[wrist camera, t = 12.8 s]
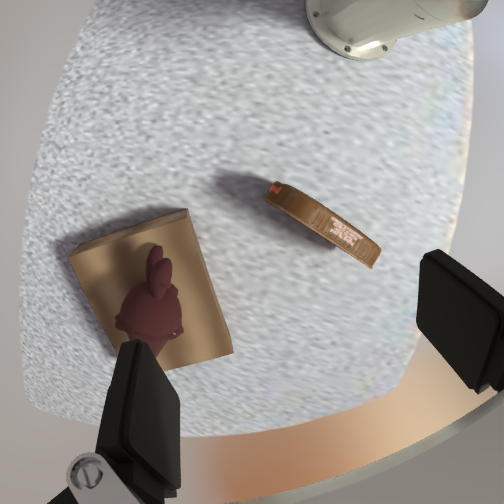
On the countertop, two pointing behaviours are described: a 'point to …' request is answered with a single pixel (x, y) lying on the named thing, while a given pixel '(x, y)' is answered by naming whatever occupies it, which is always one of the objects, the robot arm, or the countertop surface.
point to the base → (134, 271)
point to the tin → (323, 222)
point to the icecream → (152, 305)
